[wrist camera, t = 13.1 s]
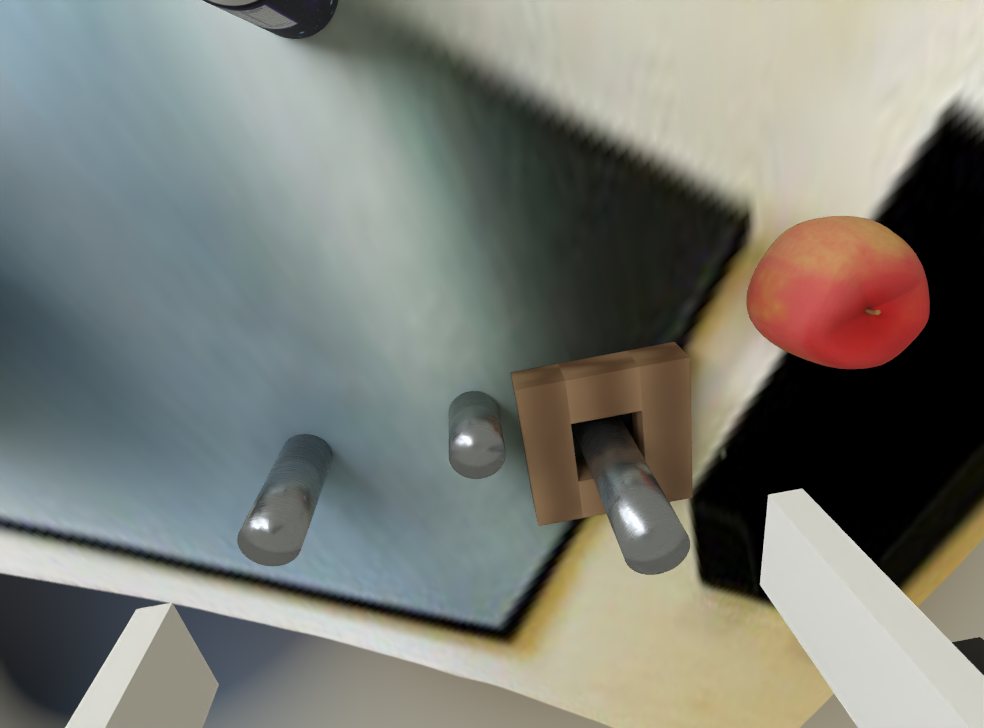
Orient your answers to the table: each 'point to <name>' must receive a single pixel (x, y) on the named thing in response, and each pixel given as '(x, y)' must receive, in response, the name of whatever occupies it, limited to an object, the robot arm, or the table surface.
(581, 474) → the socket plate
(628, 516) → the tall pin
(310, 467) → the medium pin
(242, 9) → the beverage can
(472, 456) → the short pin
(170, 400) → the table surface
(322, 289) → the table surface
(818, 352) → the apple
